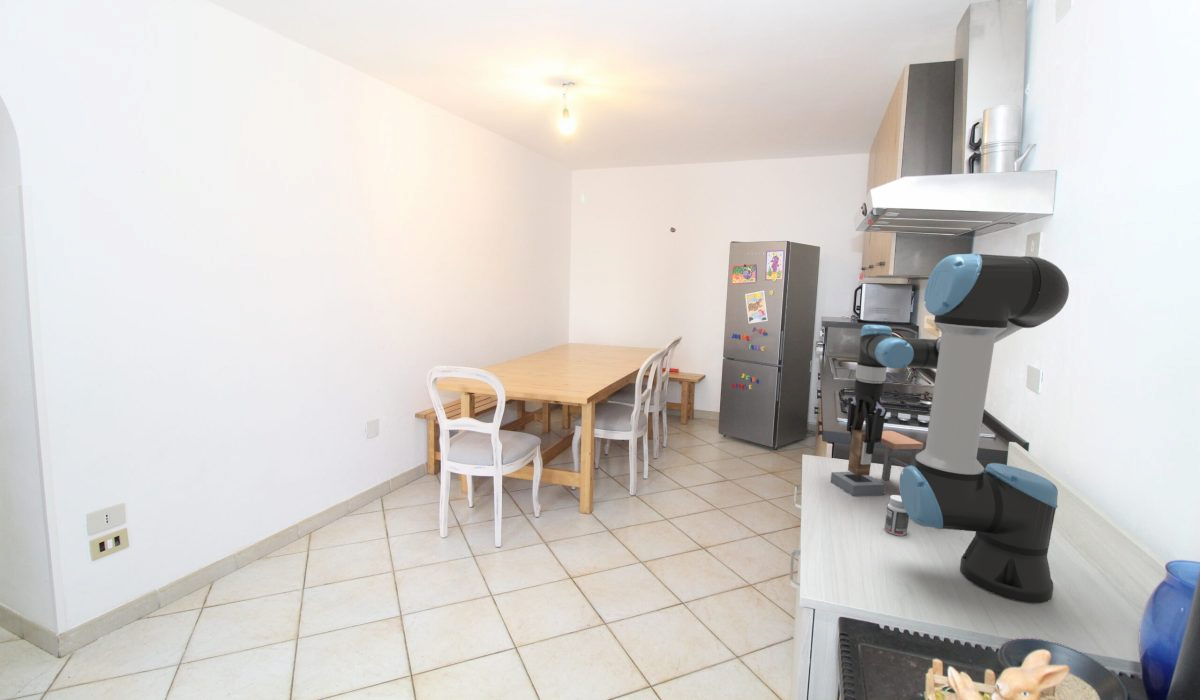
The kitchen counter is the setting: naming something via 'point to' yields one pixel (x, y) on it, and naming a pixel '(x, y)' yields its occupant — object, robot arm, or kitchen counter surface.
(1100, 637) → the kitchen counter surface
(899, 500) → the pill bottle
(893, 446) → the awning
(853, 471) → the peg
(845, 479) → the socket block
